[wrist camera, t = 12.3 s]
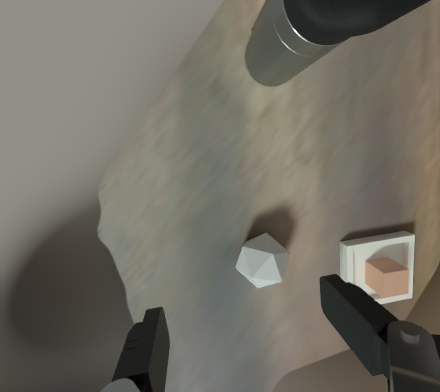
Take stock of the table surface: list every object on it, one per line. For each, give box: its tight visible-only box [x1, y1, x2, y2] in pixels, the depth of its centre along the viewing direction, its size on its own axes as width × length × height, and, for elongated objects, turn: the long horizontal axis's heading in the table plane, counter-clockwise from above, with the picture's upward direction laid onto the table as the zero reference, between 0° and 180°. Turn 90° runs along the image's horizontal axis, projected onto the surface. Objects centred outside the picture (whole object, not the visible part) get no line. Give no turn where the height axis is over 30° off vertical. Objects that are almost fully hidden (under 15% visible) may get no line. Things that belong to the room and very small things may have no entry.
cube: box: [365, 257, 410, 298], centre depth 47 cm, size 5×5×5 cm
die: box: [236, 233, 290, 288], centre depth 44 cm, size 8×9×10 cm
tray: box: [340, 231, 415, 304], centre depth 50 cm, size 14×14×2 cm
